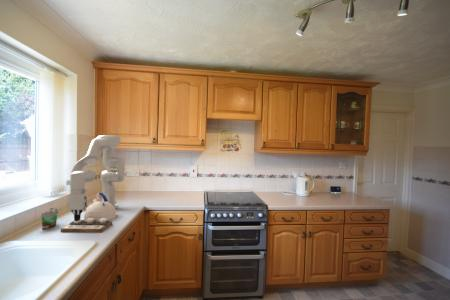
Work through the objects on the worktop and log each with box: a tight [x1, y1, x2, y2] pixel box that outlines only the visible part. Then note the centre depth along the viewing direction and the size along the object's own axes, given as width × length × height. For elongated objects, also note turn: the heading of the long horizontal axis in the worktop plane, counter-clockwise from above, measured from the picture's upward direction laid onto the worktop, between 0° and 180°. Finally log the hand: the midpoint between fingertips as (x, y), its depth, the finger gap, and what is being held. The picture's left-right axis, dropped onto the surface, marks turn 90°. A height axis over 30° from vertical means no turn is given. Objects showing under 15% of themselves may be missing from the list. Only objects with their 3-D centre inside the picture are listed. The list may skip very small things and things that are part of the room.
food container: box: [40, 207, 59, 230], centre depth 137 cm, size 12×6×10 cm, turn 17°
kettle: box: [83, 192, 117, 221], centre depth 154 cm, size 20×21×18 cm
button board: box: [60, 219, 113, 233], centre depth 135 cm, size 13×24×3 cm, turn 91°
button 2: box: [99, 218, 107, 223], centre depth 138 cm, size 4×4×2 cm
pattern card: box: [61, 224, 104, 229], centre depth 131 cm, size 5×22×1 cm, turn 91°
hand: (77, 220), depth 137 cm, fingers closed
